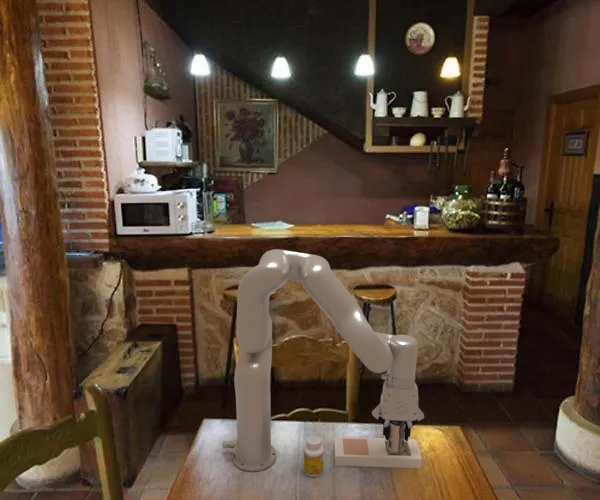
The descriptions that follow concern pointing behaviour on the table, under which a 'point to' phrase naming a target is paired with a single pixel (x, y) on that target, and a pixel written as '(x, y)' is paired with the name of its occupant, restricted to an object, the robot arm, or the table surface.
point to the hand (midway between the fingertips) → (396, 437)
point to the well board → (374, 453)
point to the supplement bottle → (313, 457)
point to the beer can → (396, 436)
